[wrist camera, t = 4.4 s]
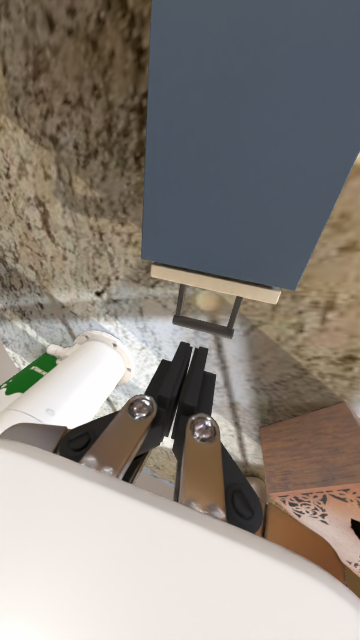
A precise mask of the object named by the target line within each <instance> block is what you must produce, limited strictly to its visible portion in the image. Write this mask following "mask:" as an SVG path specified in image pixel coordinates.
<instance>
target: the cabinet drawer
mask: <svg viewBox="0 0 360 640" xmlns="http://www.w3.org/2000/svg"><path fill="white" fill-rule="evenodd" d="M151 277H155V278H159V279H164V280H168V281H173V282H177V283H180V289H179V296H178V303H177V310H176V314H175V315H174V317H173V322H172V323H173V324H175V325H179V326H183V327H186V328H190V329H194V330H198V331H202V332H206V333H210V334H214V335H218V336H222V337H226V338H230V339H232V337H233V333H234V329H233V327H234V324H235V321H236V317H237V314H238V311H239V308H240V305H241V302H242V299H243V297H245V298H249V299H254V300H258V301H263V302H267V303H272V304H276V303H277V301H278V298H279V296H280V294H281V291H280V289H279V287H274V286H269V285H264V284H259V283H255V282H250V281H245V280H240V279H236V278H231V277H226V276H221V275H216V274H212V273H207V272H202V271H197V270H192V269H188V268H183V267H178V266H173V265H168V264H164V263H159V262H155V263H153V264H151ZM186 285H191V286H195V287H200V288H204V289H209V290H213V291H218V292H222V293H227V294H231V295H236V296H237V297H236V300H235V303H234V306H233V309H232V313H231V316H230V319H229V322H228V326H227V327H225V326H221V325H217V324H213V323H209V322H205V321H201V320H197V319H193V318H189V317H184V316H181V315H182V309H183V303H184V297H185V291H186Z"/></svg>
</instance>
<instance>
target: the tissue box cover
mask: <svg viewBox="0 0 360 640" xmlns="http://www.w3.org/2000/svg"><path fill="white" fill-rule="evenodd" d="M260 435H261V444H262V452H263V461H264V469H265V478H266V486H267V494H268V495H269V496H270V497H271V498H273V499H274V500H275V501H276V502H277V503H278V504H279V505H280V506H281V507H282V508H284V509H285V510H286V511H287V512H288V513H289V514H290V515H291V516H292V517H294V518H295V519H296V520H298V521H299V522H301V523H302V524H304V525H305V526H307V527H308V528H310V529H311V530H313V531H314V532H316V533H317V534H319V535H320V536H322V537H323V538H324V539H325V540H326V541H328V542H329V543H330V545H331V546H332V547H333V548H334V550H335V551H336V552H337V554H338V556H339V558H340V560H341V561H342V562H343V563H344V564H345V565H346V566H348V567H349V568H350V569H351V570H352V571H353V572H354V573H355V574H356V575H358V576H359V577H360V419H359V418H358V416H357V415H356V414H355V413H354V412H353V411H352V409H351V408H350V407H349V406H348V405H347V403H346V402H343V403H339V404H336V405H333V406H330V407H326V408H323V409H320V410H317V411H313V412H310V413H307V414H304V415H300V416H297V417H294V418H291V419H287V420H284V421H281V422H277V423H274V424H271V425H268V426H264V427H261V428H260Z"/></svg>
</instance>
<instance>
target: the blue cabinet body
mask: <svg viewBox="0 0 360 640" xmlns="http://www.w3.org/2000/svg"><path fill="white" fill-rule="evenodd" d="M359 152H360V0H151V24H150V49H149V74H148V99H147V124H146V149H145V173H144V198H143V223H142V248H141V259H145V260H149V261H154V262H159V263H164V264H168V265H173V266H178V267H183V268H188V269H192V270H197V271H202V272H207V273H212V274H216V275H221V276H226V277H231V278H236V279H240V280H245V281H250V282H255V283H259V284H264V285H269V286H274V287H279V288H283V289H288V290H293V291H295V290H296V287H297V285H298V283H299V281H300V279H301V277H302V274H303V272H304V270H305V268H306V266H307V264H308V262H309V259H310V257H311V255H312V253H313V251H314V249H315V247H316V244H317V242H318V240H319V238H320V236H321V234H322V231H323V229H324V227H325V225H326V223H327V221H328V219H329V216H330V214H331V212H332V210H333V208H334V206H335V203H336V201H337V199H338V197H339V195H340V193H341V191H342V188H343V186H344V184H345V182H346V180H347V178H348V176H349V173H350V171H351V169H352V167H353V165H354V163H355V160H356V158H357V156H358V154H359Z"/></svg>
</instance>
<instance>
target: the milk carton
mask: <svg viewBox="0 0 360 640" xmlns="http://www.w3.org/2000/svg"><path fill="white" fill-rule="evenodd" d="M56 361H57V359H56V358H54V357H52V356H51V355H49V354H47V353H45V354H43V355H42V356H41V357H39V358H38V359H36V360H35V361H34V362H32V363H31V364H30V365H28V366H27V367H26V368H24V369H23V370H22V371H20V372H19V373H17V374H16V375H15V376H13V377H12V378H10V379H9V380H8V381H6V382H5V383H3V384H2V385H1V386H0V412H1V411H3V410H4V409H5V408H6V407H8V406H9V405H10V404H11V403H12V402H14V401H15V400H16V399H17V398H18V397H20V396H21V395H22V394H23V393H24V392H26V391H27V390H28V389H29V388H30V387H32V386H33V385H34V384H35V383H37V382H38V381H39V380H40V379H41V378H43V377H44V376H45V375H46V374H47V373H49V372H50V371H51V370H52V369H53V368H55V367H56V366H57V364H56Z"/></svg>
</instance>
